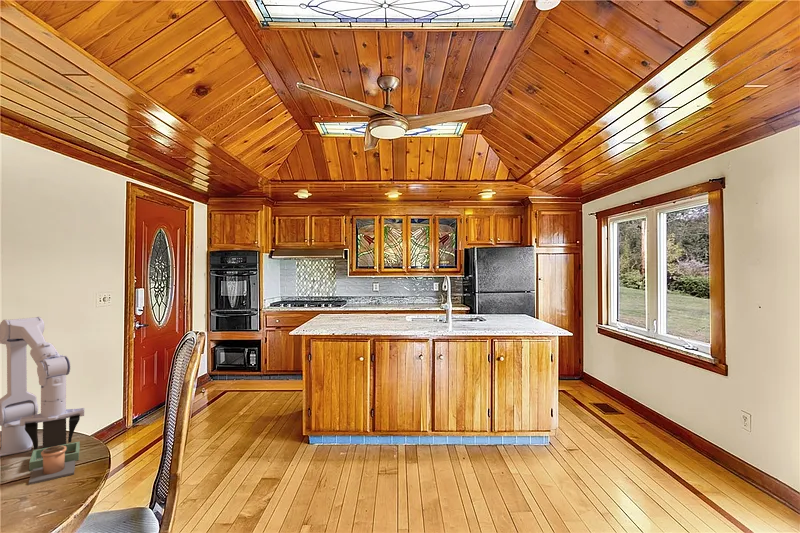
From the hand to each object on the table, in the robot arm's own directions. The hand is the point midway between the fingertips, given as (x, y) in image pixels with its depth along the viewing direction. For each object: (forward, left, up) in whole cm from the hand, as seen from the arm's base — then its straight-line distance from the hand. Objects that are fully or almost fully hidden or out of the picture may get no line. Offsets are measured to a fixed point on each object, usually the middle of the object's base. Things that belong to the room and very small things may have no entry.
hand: (53, 444), depth 123 cm
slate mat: (0, 0, -8) cm, 8 cm away
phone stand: (-20, -1, -9) cm, 22 cm away
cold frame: (-10, 0, -8) cm, 13 cm away
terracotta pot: (0, 0, -8) cm, 8 cm away
